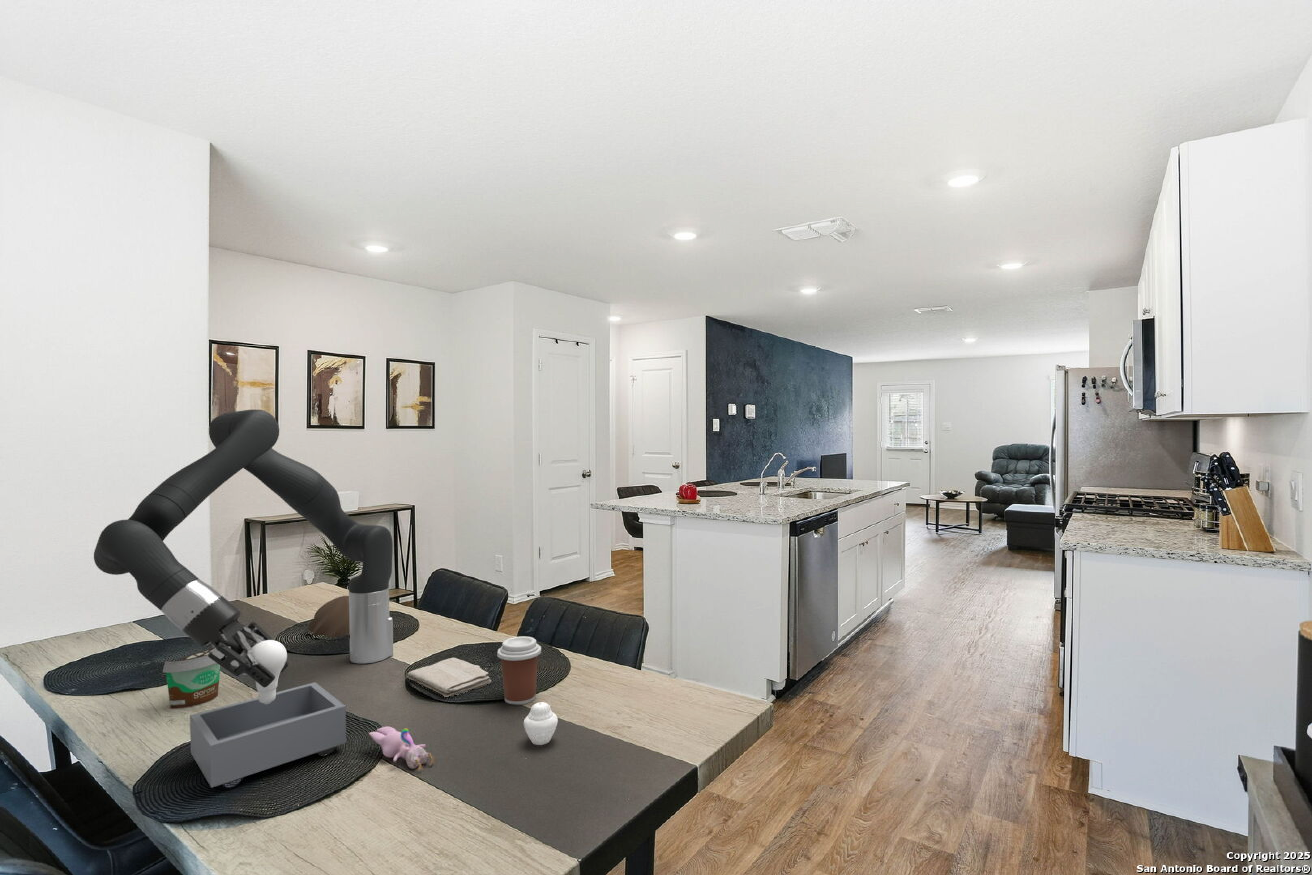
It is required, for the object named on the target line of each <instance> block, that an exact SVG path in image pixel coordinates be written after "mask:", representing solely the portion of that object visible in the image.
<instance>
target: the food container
mask: <svg viewBox="0 0 1312 875" xmlns="http://www.w3.org/2000/svg"><path fill="white" fill-rule="evenodd" d="M211 644H212V643H211ZM214 648H215V647H214V645H213V644H212V645H211V648H209V649H207V650H204V651H202V652H196V653H192V654H189V655H187V656H185V657H184V658H181V659H180V660H177V661H176V660H175V661H164V665H163V669H162V673H165V675H166V682H167V691H168V692H167V693H168V699H169V700H168V701H169V708H170V709H184V708H185V709H186V708H191V707H196V706H200V705H203V704H206V703H208V702H211V701H213V700H214V699H216V698H217V697H218V695H219V686H220V685H219V684H220V675H221V665H219V664H218V663H216V662H215V661H213V660H212V659H211V658H209V657H208V654H209V653H210V652H211V651H212V650H213V649H214Z"/></svg>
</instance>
